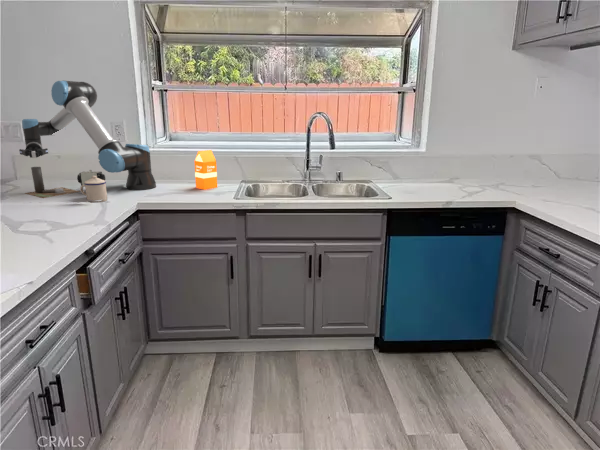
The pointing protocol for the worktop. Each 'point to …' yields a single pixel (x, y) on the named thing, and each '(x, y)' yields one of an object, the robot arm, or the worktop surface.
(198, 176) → the orange juice
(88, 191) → the teacup with lid
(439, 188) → the worktop surface
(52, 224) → the worktop surface
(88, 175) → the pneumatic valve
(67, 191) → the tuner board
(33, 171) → the peg lever
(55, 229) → the worktop surface
